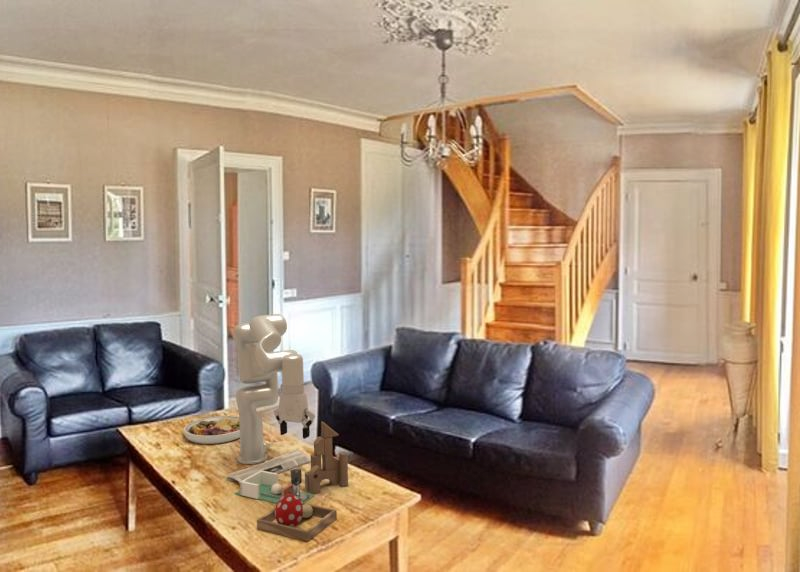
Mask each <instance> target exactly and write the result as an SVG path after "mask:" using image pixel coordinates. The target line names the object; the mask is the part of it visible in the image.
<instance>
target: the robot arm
mask: <svg viewBox="0 0 800 572" xmlns="http://www.w3.org/2000/svg"><path fill="white" fill-rule="evenodd" d="M287 329H288V324H287V319H286V318H285V316H283V315H282V314H279V313H275V314H263V315H257V316H254V317H253V318H252V319H251V320H250V321H249V322H246V323H240V324H239V323H238V324H237V325H236V326H235V327H234V328H233V333H232V337H233V342H234V343H235V347H236V350H237V359H238V363H237V365H238V377H239V381H240V382H241V383H242V384H245V385H247V386H244V387H240V388H239V389H238V390H237V391H236V394H235V401H236V405H237V409H238V410H237V411H238V417H239V425H240V438H239V441H240V442H239V443H240V444H239V445H240V454H239V455H238V456H237V457H236V461H237V463H239V464H242V465H255V464H256V465H257V464H261V463H264V462H266V460H267V459H268V453H266V450H268V449H270V448H271V445H270V444H269V443H267V444H265V445H264V429H263V427H264V425H263V423H264V422H263V417H262V414H261V413H259V411H257V409H258V408H264V407H271V406H274V405H275V404H277V402H278V400H279V403H278V408H277V409H274V410H273V414H274V415H275V419H276V420H277V423H278V425H279V431H280V432H279V433H280V435H281V436H283V435H286V434H287V433H288V422H290V423H298V424H301V425H302V426H303V427H302V439H303V440H305V439H307V438H309V437H310V434H311V433H310V426H312V424H313V423H314V421H315V419H316V415H315V414H314V413H312V412H311V411H310V410H309V404H308V403H309V402H308V398H307V394H306V392H305V383H304V381H305V380H304V377H305V376H304V358H303V355H301V354H299V353H298V351H296V350H293V349H287V350H278V351H275V350H277V348H278V347H279V346H280V345H281V343H282V336H283V335H285V334H286V332H287ZM256 343H257V345H256ZM278 373H281V380H282V384H280V386H279V385H278V384H279V382H278V381H279V380H278V378H279V377H278V375H279V374H278ZM263 382H265V383H263ZM256 383H261V384H256ZM249 384H254V385H249ZM279 387H280V388H281V389H282V391H281V392H280V395H279Z"/></svg>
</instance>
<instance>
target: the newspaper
mask: <svg viewBox="0 0 800 572" xmlns="http://www.w3.org/2000/svg"><path fill="white" fill-rule="evenodd" d="M309 463H310V464H311V455H309V454H307V453H305V452H303V451H301V450H300V449H299V448H295V449H293V450H290V451H288V452H286V453H283V454H282V455H279V456H277V457H274V458H272V459H269V460H267V461H263V462H260V463H257V464H256V465H255V464H254V465H252V466H249V467H245V468H243V469H239V470H237V471H233V472H230V473H228V474H226V475H227V477H226V480H227V481H229V482H233V481H237V482H238V483H237V485H239V486H240V482H241V481H242V480H244V479H246V478H248V477H250V476H251V475H253V474H255V473H257V472H259V471H260V470H262V471H267V472H272V473H277V474H278V475H280V474H282V473H285V472H287V471H291V470H293V469H297V468H299V467H302V466H304V465H307V464H309Z"/></svg>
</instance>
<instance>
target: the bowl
mask: <svg viewBox="0 0 800 572" xmlns="http://www.w3.org/2000/svg"><path fill="white" fill-rule="evenodd" d="M183 433H184V434H183V435H184V437H185V438H186V439H187V440H188V441H191V442H192V443H196V444H199V445H200V444H202V445H216V444H217V445H218V444H223V443H229V442H233V441H235V440H237V439H240V425H239V416H235V415H219V416H210V417H206V418H205V417H204V418H201V419H197V420H193V421H191V422H189V423H188V424H187V425H185V426H184V428H183Z"/></svg>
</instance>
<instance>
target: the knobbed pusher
mask: <svg viewBox="0 0 800 572" xmlns="http://www.w3.org/2000/svg"><path fill="white" fill-rule="evenodd" d="M302 482H303V478H302V469H300V468H294V469H291V470H290V484H288V485H286V486H285V487H282V488H283V489H282V490H281V496H282V497H283V496H285V495H288V494H292V495H295V496H297V497H298V498H299V499H300V500H301V501H304V500H305V499H307V495H304V494H300V492H301V484H302Z"/></svg>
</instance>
